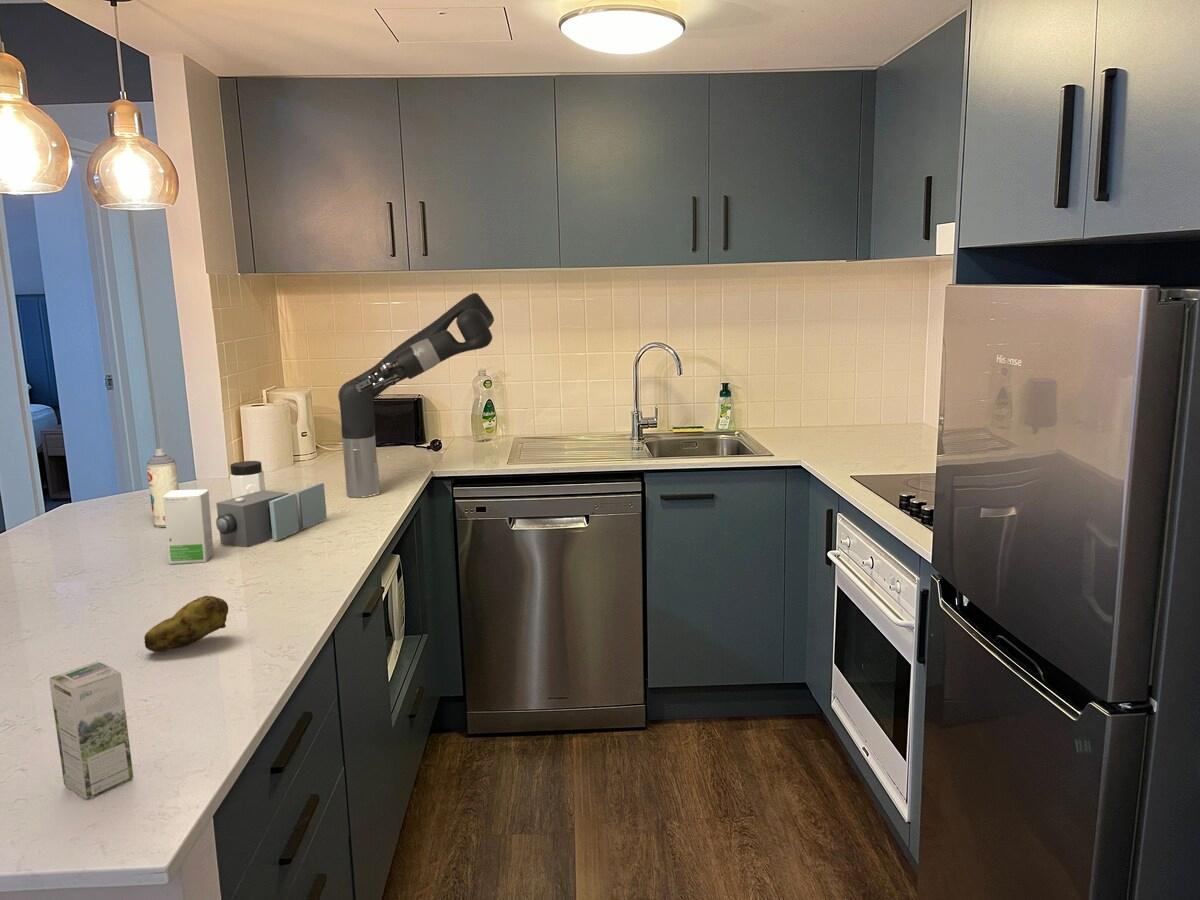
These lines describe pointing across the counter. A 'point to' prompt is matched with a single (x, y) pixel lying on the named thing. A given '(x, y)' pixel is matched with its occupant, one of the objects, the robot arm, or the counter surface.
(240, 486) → the jar
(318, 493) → the side door
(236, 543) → the block
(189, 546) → the skincare box
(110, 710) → the syrup box
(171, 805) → the counter surface
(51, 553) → the counter surface
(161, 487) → the aerosol can
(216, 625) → the potato
